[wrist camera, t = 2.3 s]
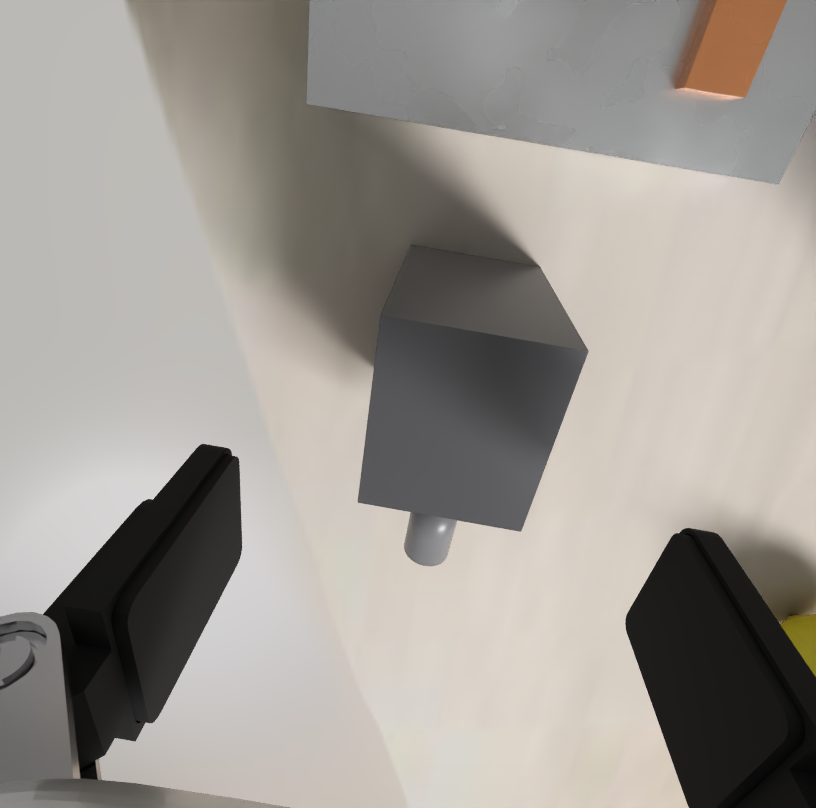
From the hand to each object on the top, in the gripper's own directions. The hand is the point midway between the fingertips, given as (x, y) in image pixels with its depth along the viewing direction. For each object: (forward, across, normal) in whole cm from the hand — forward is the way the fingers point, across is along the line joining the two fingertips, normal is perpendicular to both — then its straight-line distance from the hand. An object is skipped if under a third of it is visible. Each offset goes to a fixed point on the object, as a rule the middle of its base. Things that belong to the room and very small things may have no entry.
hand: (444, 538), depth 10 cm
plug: (+11, 0, +1) cm, 11 cm away
